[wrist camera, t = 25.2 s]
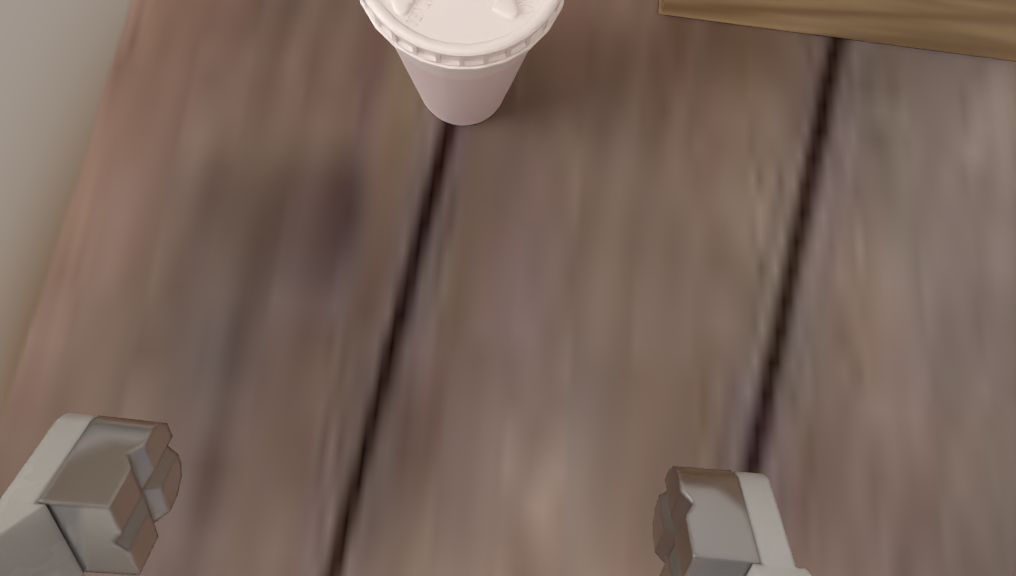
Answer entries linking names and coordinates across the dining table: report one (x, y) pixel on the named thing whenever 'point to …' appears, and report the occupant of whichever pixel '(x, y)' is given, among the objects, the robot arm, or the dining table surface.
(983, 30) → the rack
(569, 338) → the dining table surface
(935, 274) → the dining table surface
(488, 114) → the smoothie
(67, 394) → the dining table surface
